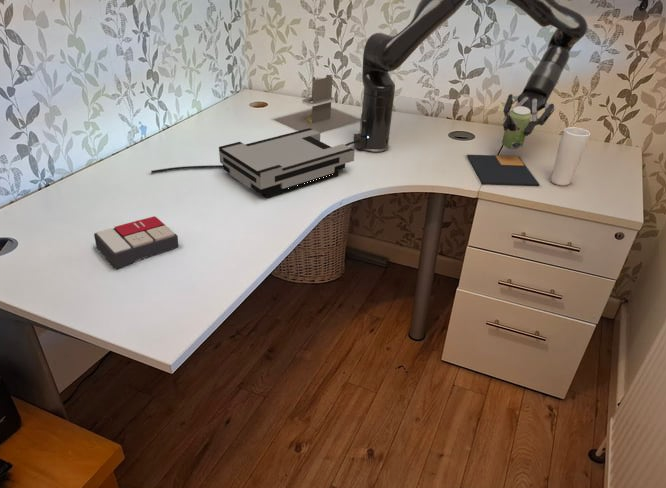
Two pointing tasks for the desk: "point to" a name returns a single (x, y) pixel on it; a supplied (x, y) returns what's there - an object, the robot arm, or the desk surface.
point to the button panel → (135, 241)
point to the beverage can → (516, 127)
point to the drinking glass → (569, 154)
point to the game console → (284, 162)
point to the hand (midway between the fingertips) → (515, 131)
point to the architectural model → (319, 110)
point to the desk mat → (502, 170)
